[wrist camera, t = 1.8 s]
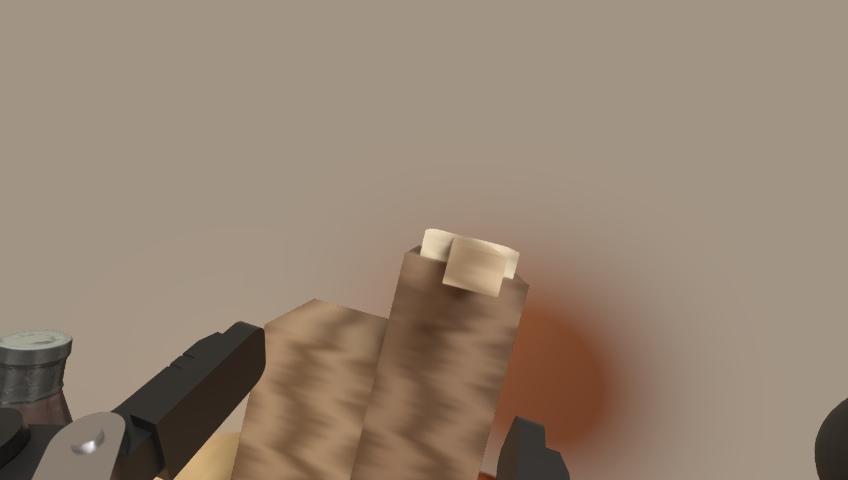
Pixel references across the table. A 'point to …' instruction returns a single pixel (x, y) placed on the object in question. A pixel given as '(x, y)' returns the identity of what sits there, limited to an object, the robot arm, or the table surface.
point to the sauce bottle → (35, 375)
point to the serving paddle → (470, 261)
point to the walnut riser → (382, 384)
